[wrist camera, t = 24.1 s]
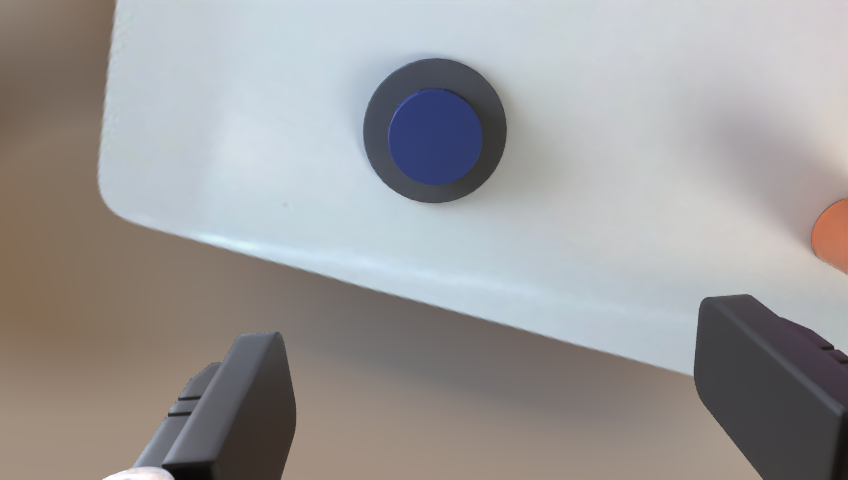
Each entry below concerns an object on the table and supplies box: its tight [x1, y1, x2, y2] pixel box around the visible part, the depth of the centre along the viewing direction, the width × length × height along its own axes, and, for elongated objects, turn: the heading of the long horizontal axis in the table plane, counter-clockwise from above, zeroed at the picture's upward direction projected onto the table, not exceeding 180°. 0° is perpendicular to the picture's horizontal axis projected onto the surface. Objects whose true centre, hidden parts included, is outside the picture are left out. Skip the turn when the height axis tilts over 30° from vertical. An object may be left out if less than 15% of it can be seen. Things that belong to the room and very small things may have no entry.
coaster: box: [363, 59, 507, 203], centre depth 36 cm, size 9×9×1 cm
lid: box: [388, 87, 483, 185], centre depth 35 cm, size 6×6×2 cm
